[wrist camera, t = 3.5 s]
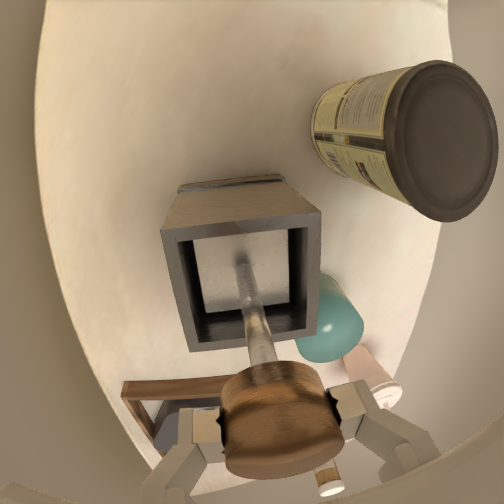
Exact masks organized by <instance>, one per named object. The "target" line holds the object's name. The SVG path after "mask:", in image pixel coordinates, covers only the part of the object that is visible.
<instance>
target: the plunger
mask: <svg viewBox="0 0 504 504" xmlns="http://www.w3.org/2000/svg"><path fill="white" fill-rule="evenodd" d="M193 243H194V249H195V255H196V261H197V266H198V272H199V278H200V283H201V288H202V294H203V299H204V304H205V309H206V313H209V312H218V311H227V310H235V309H241V310H242V316H243V322H244V328H245V334H246V340H247V346H248V352H249V358H250V364H251V367H249V368H247V369H245V370H243V371H241V372H239V373H237V374H236V375H234V376H233V377H232V378H231V379H230V380H229V381H228V382H227V383H226V384H225V385H224V387H223V389H222V391H221V396H220V401H221V414H222V428H223V439H224V453H225V464H226V468H227V469H228V470H229V471H230V472H231V473H233V474H234V475H237V476H240V477H243V478H248V479H258V480H265V479H279V478H285V477H290V476H295V475H298V474H302V473H305V472H308V471H310V470H313V469H315V468H317V467H319V466H321V465H323V464H325V463H327V462H328V461H330V460H331V459H333V458H334V457H335V456H336V455H337V454H338V453H339V452H340V451H341V450H342V448H343V446H344V443H345V440H344V437H343V435H342V432H341V430H340V427H339V425H338V422H337V419H336V417H335V414H334V412H333V409H332V407H331V404H330V402H329V399H328V397H327V394H326V392H325V389H324V387H323V384H322V382H321V379H320V377H319V375H318V373H317V372H316V371H315V370H314V369H313V368H311V367H310V366H308V365H305V364H303V363H299V362H294V361H278V359H277V355H276V352H275V348H274V344H273V341H272V337H271V334H270V330H269V326H268V323H267V319H266V315H265V312H264V308H263V306H265V305H272V304H279V303H286V302H289V263H288V229H282V230H273V231H264V232H255V233H246V234H238V235H229V236H221V237H213V238H204V239H196V240H193Z"/></svg>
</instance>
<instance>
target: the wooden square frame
mask: <svg viewBox="0 0 504 504" xmlns="http://www.w3.org/2000/svg"><path fill="white" fill-rule="evenodd" d="M234 375H236V374H234ZM234 375H225V376H216V377H205V378H193V379H178V380H158V381H124V384H123V388H122V392H121V398H122V400H123V402H124V403H125V405H126V406H127V408H128V410H129V411H130V413H131V414H132V416H133V417H134V419H135V420H136V422H137V423H138V425H139V426H140V428H141V429H142V431H143V432H144V433H145V435H146V436H147V438H148V439H149V440H150V442H151V443H152V445H153V437H154V428H155V425H154V424H153V422H152V420H151V419H150V417H149V416H148V414H147V412H146V410H145V409H144V407H143V405H142V404H141V402H140V400H177V399H195V398H208V397H219V396H221V391H222V389H223V387H224V385H225V384H226V383H227V382H228V381H229V380H230V379H231V378H232V377H233V376H234ZM155 449H156V448H155ZM156 450H157V449H156ZM157 451H158V452H159V454H160V455H161V456H162V458H164V456H165V455H166V454H167V453H163V452H161V451H159V450H157Z"/></svg>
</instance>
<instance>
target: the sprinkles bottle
mask: <svg viewBox="0 0 504 504" xmlns="http://www.w3.org/2000/svg"><path fill="white" fill-rule="evenodd" d="M313 470H314V474H315V476H316V479H317V483H318V490H319V493H320V495H321V496H329V495H333V494H336V493H338V492H340V491H342V490H343V489H344V484H343V481H342V480H341V478H340V476H339V473H338V470H337V466H336V463H335V461H334V458H333V459H331V460H330V461H328V462H327V463H325V464H323V465H321V466H319V467H317V468H315V469H313Z"/></svg>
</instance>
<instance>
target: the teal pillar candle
mask: <svg viewBox="0 0 504 504" xmlns="http://www.w3.org/2000/svg"><path fill="white" fill-rule="evenodd" d="M363 331H364V323H363V320H362V318H361V316H360V315H359V313H358V312H357V311H356V309H355V308H354V306H353V305H352V304H351V302H350V301H349V299H348V298H347V297H346V295H345V294H344V292H343V291H342V290H341V288H340V287H339V285H338V284H337V283H336V281H335V280H334V279H333V278H331V277H330V276H328V275H325V274H320V284H319V304H318V320H317V334H316V335H314V336H308V337H303V338H297V339H295V342H296V345H297V347H298V350H299V352H300V354H301V355H302V357H304V358H305V359H306V360H308V361H311V362H315V363H325V362H330V361H334V360H336V359H339V358H341V357H343V356H344V355H346V354H347V353H349V352H350V351H351V350H352V349H353V348H354V347H355V346H356V345H357V344H358V342H359V341H360V339H361V337H362V334H363Z"/></svg>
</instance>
